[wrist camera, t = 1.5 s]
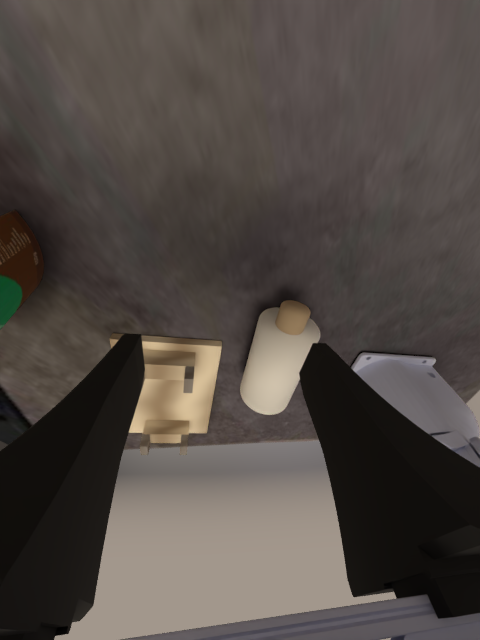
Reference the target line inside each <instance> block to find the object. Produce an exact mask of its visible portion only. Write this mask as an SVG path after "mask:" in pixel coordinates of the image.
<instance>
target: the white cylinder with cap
mask: <svg viewBox="0 0 480 640" xmlns="http://www.w3.org/2000/svg"><path fill="white" fill-rule="evenodd" d="M310 314H311V312H310V310H309V308H308V307H307V306H305V305H304V304H302V303H300V302H297V301H293V300H287V301H284V302H282V303H281V306H280V308H278V307H274V308H269V309H266V310H264V311H263V312H262V313H261V314H260V316H259V319H258V323H257V327H256V330H255V334H254V338H253V341H252V345H251V349H250V352H249V356H248V360H247V363H246V367H245V371H244V374H243V378H242V382H241V385H240V393H241V397H242V399H243V401H244V402H245V403H246V405H247V406H249V407H250V408H251V409H252V410H254V411H256V412H258V413H261V414H265V415H273V414H277V413H280V412H282V411H283V410H284V409H285V408H286V407H287V405H288V403H289V401H290V399H291V397H292V394H293V392H294V390H295V388H296V386H297V384H298V382H299V380H300V376H299V372H300V370H301V368H302V366H303V364H304V361H305V359H306V357H307V355H308V353H309V350H310V348H311V346H312V344H313V343H318V341H319V339H320V330H319V328H318V326H317V325H316V323H315V322H314V321H313V320H312V319H310V318H309V316H310Z"/></svg>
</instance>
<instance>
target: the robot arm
mask: <svg viewBox="0 0 480 640" xmlns="http://www.w3.org/2000/svg"><path fill="white" fill-rule="evenodd" d="M435 362H436V359H435V358H433V357H422V356H407V355H393V354H378V353H361V354H360V355H359V356H358V358H357V359H356V361H355V362H354V364H353V365H352V367H351V368H350V367H349V366H348V365H347V364H346V363H345V362H344V361H343V360H342V359H341V358H340V357H339V356H338V355H337V354H336V353H335V352H334V351H333V350H332V349H331V348H330V347H329V346H328V345H327V344H325V343H313V344H312V346H311V348H310V350H309V353H308V355H307V357H306V359H305V361H304V364H303V366H302V368H301V370H300V372H299V376H300V381H301V386H302V390H303V395H304V398H305V401H306V404H307V407H308V410H309V413H310V415H311V418H312V421H313V424H314V427H315V430H316V432H317V435H318V438H319V441H320V444H321V447H322V450H323V453H324V458H325V462H326V466H327V470H328V474H329V478H330V482H331V487H332V491H333V496H334V500H335V506H336V510H337V516H338V521H339V527H340V532H341V538H342V545H343V551H344V557H345V564H346V571H347V578H348V582H349V585H350V589H351V592H352V595H353V597H358V596H366V595H373V594H380V593H387V592H393V591H394V592H395V595H396V597H397V599H392V600H385V601H378V602H372V603H365V604H358V605H351V606H344V607H338V608H331V609H324V610H317V611H310V612H304V613H297V614H290V615H284V616H277V617H270V618H263V619H256V620H250V621H243V622H236V623H229V624H223V625H216V626H209V627H202V628H196V629H189V630H182V631H175V632H169V633H162V634H155V635H148V636H142V637H135V638H128V639H121V640H380V639H386V638H391V637H392V638H391V640H480V438H479V426H478V423H477V420H476V418H475V416H474V414H473V412H472V411H471V410H470V408H469V407H468V406H467V405H466V403H465V402H464V401H463V400H462V399H461V398H460V397H459V396H458V395H457V393H456V392H455V391H454V390H453V389H452V388H451V387H450V386H449V385H448V383H447V382H446V381H445V380H444V379H443V378H442V377H441V376H440V375H439V373H438V372H437V371H436V370H435V369H434V368H433V367H432V366H433V365H434V364H435ZM144 373H145V364H144V355H143V346H142V337H141V334H124V335H122V336H121V338H120V339H119V340H118V341H117V343H116V344H115V345H114V346H113V347H112V349H111V350H110V351H109V352H108V353H107V354H106V355H105V357H104V358H103V359H102V360H101V361H100V362H99V363H98V364H97V365H96V366H95V368H94V369H93V370H92V371H91V372H90V373H89V374H88V375H87V376H86V377H85V378H84V379H83V380H82V381H81V382H80V383H79V384H78V385H77V386H76V387H75V388H74V389H73V390H72V391H71V392H70V393H69V394H68V395H67V396H66V397H65V398H64V399H63V400H62V401H61V402H59V403H58V404H57V405H56V406H55V407H54V408H53V409H52V410H51V411H49V412H48V413H47V414H46V415H45V416H44V417H42V418H41V419H40V420H39V421H38V422H37V423H35V424H34V425H33V426H32V427H30V428H29V429H28V430H27V431H25V432H24V433H23V434H22V435H20V436H19V437H18V438H17V439H15V440H14V441H13V442H12V443H10V444H9V445H8V446H6V447H5V448H4V449H2V450H1V451H0V640H54V637H55V636H57V635H63V634H68V633H69V631H70V628H71V624H72V622H77V621H80V620H81V619H82V618H83V617H84V616H85V615H86V614H87V612H88V611H89V610H90V609H91V607H92V606H93V604H94V598H95V592H96V585H97V580H98V574H99V568H100V562H101V556H102V551H103V545H104V540H105V534H106V529H107V523H108V518H109V513H110V508H111V503H112V498H113V493H114V488H115V483H116V479H117V474H118V469H119V465H120V460H121V456H122V453H123V449H124V446H125V442H126V439H127V436H128V433H129V430H130V426H131V423H132V420H133V417H134V414H135V410H136V407H137V404H138V400H139V397H140V394H141V389H142V384H143V378H144Z"/></svg>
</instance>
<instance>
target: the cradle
mask: <svg viewBox="0 0 480 640" xmlns="http://www.w3.org/2000/svg"><path fill="white" fill-rule="evenodd" d="M122 335H124V334H116V333H112V335H111V337H110V344H111V349H112V347H113V346H114V345H115V344H116V343H117V341H118V340H119V339H120V338H121V336H122ZM141 337H142V346H143V355H144V364H145V373H144V378H143V384H142V389H141V394H140V397H139V400H138V404H137V407H136V410H135V414H134V417H133V420H132V423H131V426H130V430H129V433H143V435H142V439H141V443H140V451H141V455H148V453H149V448H150V443H181V444H180V455H186V454H187V445H188V433H207V428H208V423H209V417H210V411H211V406H212V400H213V394H214V389H215V383H216V377H217V371H218V366H219V360H220V354H221V349H222V341H216V340H202V339H187V338H173V337H159V336H145V335H141Z"/></svg>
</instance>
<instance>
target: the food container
mask: <svg viewBox="0 0 480 640" xmlns="http://www.w3.org/2000/svg"><path fill="white" fill-rule="evenodd" d="M43 273H44V261H43V255H42V252H41V249H40V246H39V243H38V241H37V239H36V237H35V235H34V233H33V232H32V231H31V229H30V228H29V226H28V225H27V223H26V222H25V221H24V219H23V218H22V217H21V216H20V215H19V213H18V212H17V211H16V210H13V211H11V212H9V213H6V214H4V215H1V216H0V329H1V328H2V327H3V326H4V325H5V324H6V322H7V321H8V320H9V319H10V318H11V317H12V315H13V314H14V313H15V312H16V311H17V310H18V308H19V307H20V306H21V305H22V304H23V303H24V301H25V300H26V299H27V298H28V297H29V296H30V294H31V293H32V292H33V291H34V290H35V289H36V287H37V286H38V285H39V283H40V281H41V280H42V276H43Z"/></svg>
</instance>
